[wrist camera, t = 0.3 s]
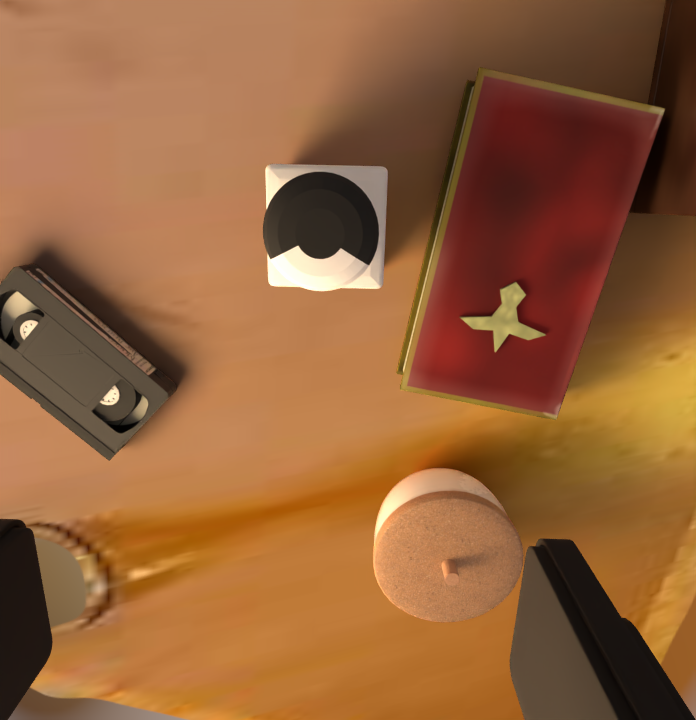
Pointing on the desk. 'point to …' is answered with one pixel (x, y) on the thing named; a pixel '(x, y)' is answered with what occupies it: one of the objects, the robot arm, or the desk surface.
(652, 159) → the cabinet
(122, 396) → the vhs tape
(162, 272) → the desk surface
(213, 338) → the desk surface
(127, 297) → the desk surface
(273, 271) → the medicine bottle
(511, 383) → the hardcover book
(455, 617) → the trinket box
